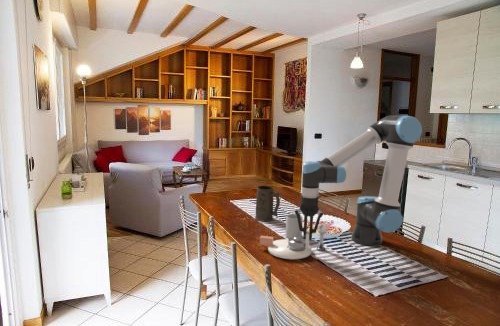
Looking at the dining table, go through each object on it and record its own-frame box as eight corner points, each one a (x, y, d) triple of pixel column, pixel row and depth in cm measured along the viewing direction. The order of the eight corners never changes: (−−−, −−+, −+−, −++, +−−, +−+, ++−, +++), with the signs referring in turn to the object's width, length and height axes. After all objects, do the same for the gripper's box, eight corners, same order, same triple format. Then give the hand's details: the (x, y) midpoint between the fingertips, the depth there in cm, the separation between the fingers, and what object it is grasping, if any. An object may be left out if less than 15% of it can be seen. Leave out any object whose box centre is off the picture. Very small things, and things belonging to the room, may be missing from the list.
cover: (306, 245, 164) (306, 235, 163) (304, 252, 156) (305, 241, 156) (289, 243, 166) (289, 233, 165) (286, 250, 158) (287, 239, 158)
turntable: (312, 245, 169) (313, 235, 169) (309, 261, 150) (309, 250, 149) (264, 239, 175) (265, 229, 175) (255, 254, 156) (255, 244, 155)
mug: (304, 238, 181) (305, 218, 179) (289, 240, 178) (290, 219, 176) (293, 230, 192) (294, 211, 190) (279, 232, 189) (280, 212, 187)
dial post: (325, 248, 168) (327, 223, 166) (325, 251, 164) (327, 225, 162) (316, 247, 169) (318, 222, 167) (315, 250, 165) (317, 224, 163)
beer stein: (251, 219, 210) (254, 187, 206) (257, 214, 219) (260, 184, 216) (275, 225, 204) (279, 192, 201) (281, 219, 214) (284, 188, 211)
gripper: (325, 195, 158) (322, 245, 162) (296, 193, 162) (294, 241, 165) (324, 199, 151) (321, 251, 155) (294, 196, 154) (291, 247, 158)
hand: (307, 246), depth 160 cm, fingers closed
